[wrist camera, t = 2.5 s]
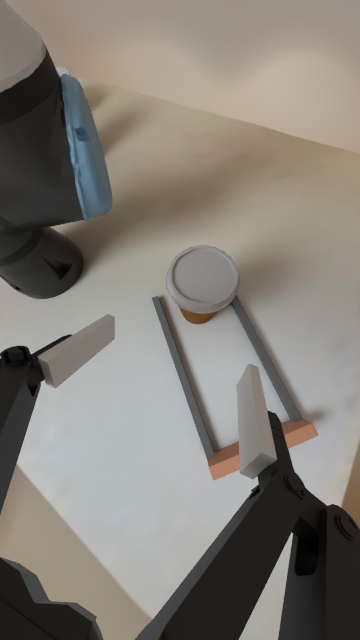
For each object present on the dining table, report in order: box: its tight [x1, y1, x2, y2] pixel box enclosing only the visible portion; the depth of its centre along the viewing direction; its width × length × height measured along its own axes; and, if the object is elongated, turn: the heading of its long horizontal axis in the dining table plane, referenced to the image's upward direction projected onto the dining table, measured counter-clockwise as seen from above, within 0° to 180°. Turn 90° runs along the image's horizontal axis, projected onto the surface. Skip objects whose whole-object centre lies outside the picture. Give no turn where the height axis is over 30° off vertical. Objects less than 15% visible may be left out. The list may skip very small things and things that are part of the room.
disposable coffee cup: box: [166, 245, 239, 324], centre depth 25 cm, size 10×10×12 cm
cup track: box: [152, 295, 318, 481], centre depth 27 cm, size 30×15×3 cm, turn 20°
